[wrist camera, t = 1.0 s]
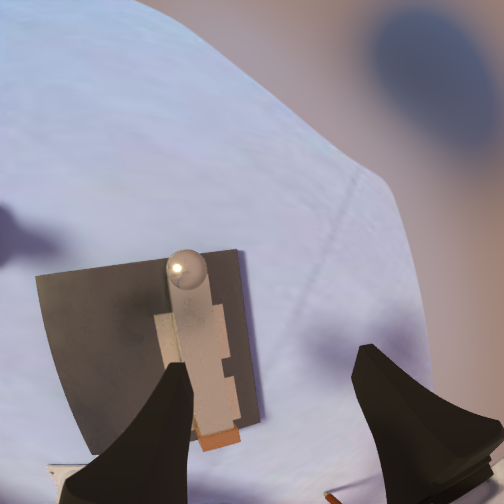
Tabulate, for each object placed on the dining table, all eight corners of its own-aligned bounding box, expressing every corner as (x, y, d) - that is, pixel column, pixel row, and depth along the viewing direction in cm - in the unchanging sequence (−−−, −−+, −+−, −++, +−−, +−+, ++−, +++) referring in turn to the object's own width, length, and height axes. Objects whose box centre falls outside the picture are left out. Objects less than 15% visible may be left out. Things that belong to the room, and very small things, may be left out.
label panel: (256, 417, 27) (263, 426, 25) (92, 449, 20) (91, 460, 18) (233, 249, 26) (240, 248, 24) (38, 275, 19) (31, 277, 18)
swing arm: (233, 431, 24) (240, 441, 22) (198, 440, 22) (203, 451, 21) (203, 247, 23) (209, 246, 21) (159, 253, 22) (161, 252, 20)
